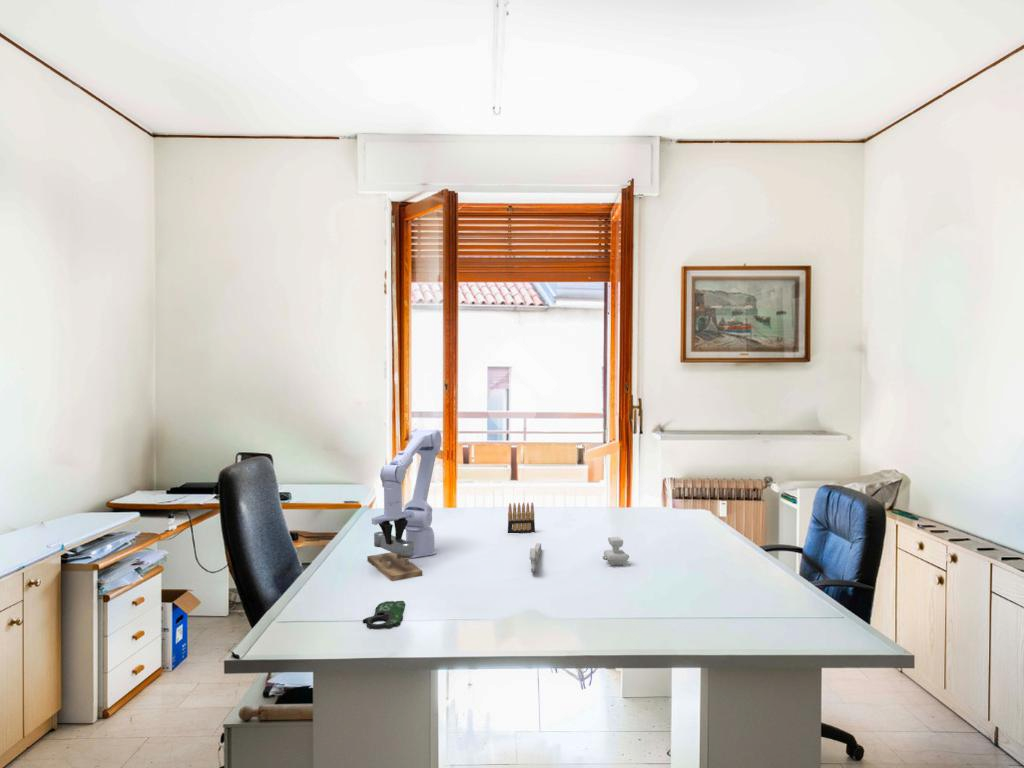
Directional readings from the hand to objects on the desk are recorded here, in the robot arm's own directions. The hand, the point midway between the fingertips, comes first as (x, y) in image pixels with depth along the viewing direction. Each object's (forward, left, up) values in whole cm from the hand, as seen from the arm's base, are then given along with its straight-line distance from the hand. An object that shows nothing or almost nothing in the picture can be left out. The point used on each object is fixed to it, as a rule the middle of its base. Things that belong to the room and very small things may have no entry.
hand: (393, 542), depth 204 cm
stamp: (-64, +35, -8) cm, 73 cm away
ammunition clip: (-58, -15, -8) cm, 60 cm away
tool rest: (0, 0, -8) cm, 8 cm away
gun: (+16, +37, -9) cm, 41 cm away
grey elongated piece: (0, 0, -2) cm, 2 cm away
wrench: (-42, +20, -9) cm, 48 cm away
